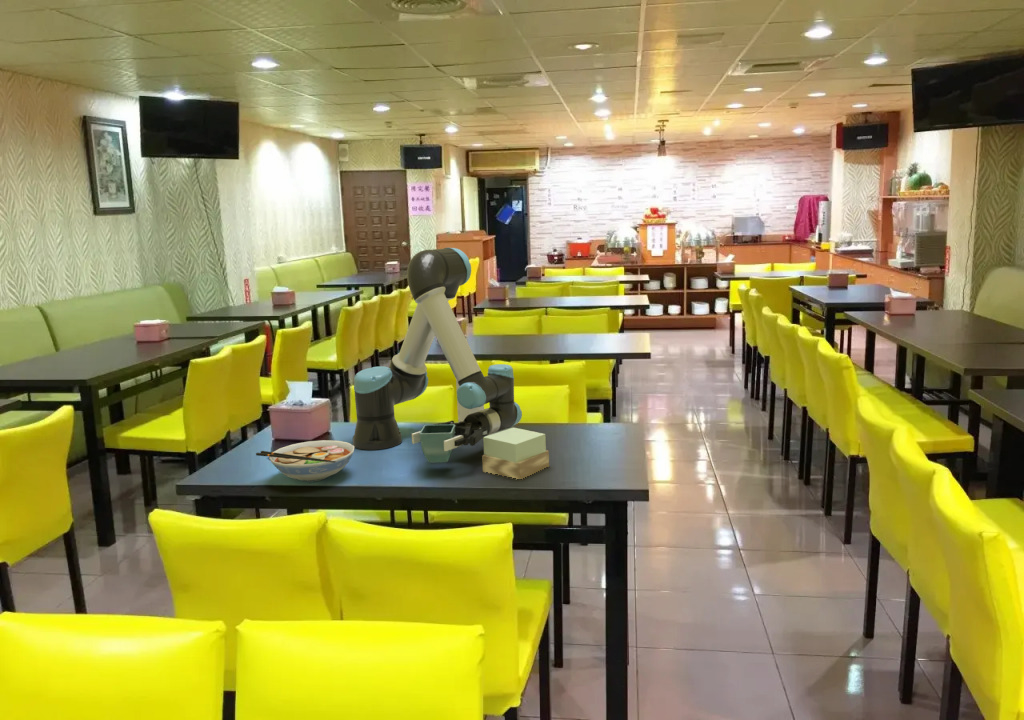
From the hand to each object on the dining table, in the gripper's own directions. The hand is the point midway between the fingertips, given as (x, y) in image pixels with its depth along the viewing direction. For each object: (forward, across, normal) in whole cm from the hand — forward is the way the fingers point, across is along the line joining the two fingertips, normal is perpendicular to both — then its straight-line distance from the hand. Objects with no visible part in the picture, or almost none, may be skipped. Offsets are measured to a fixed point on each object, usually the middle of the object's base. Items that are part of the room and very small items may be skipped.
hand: (428, 442), depth 209 cm
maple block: (-17, -17, -10) cm, 25 cm away
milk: (-34, +14, -10) cm, 38 cm away
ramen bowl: (+18, +26, -10) cm, 34 cm away
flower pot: (-4, 0, -6) cm, 7 cm away
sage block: (-16, -17, -4) cm, 24 cm away
